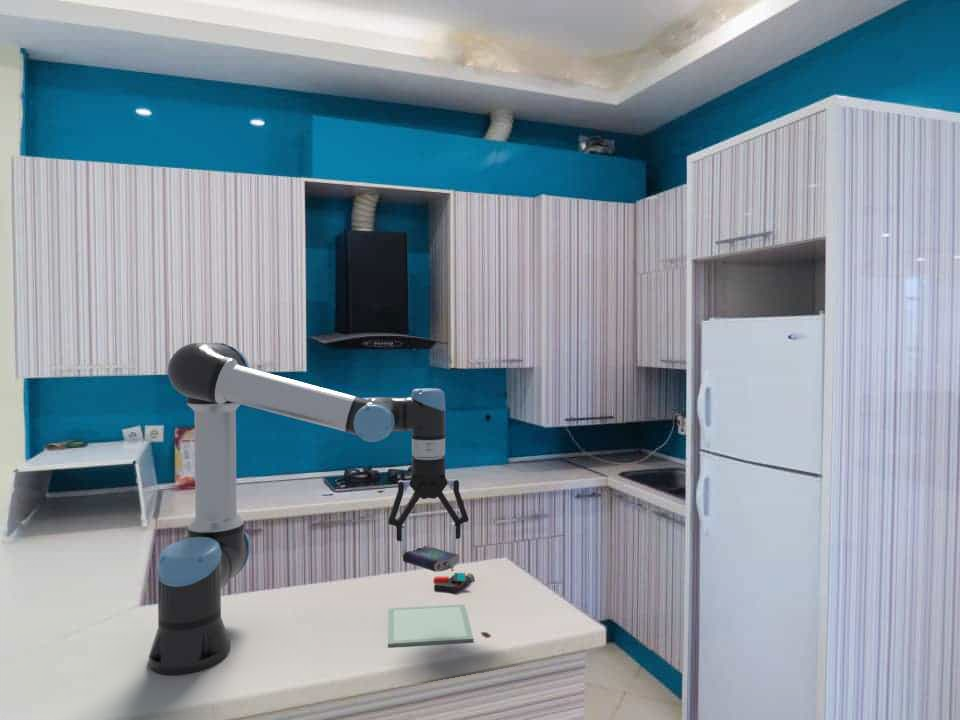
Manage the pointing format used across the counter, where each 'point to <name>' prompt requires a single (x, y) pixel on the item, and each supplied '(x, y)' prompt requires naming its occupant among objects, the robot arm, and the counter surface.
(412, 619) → the mat
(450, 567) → the blue clover box
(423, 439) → the robot arm
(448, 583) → the toy gun
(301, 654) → the counter surface
